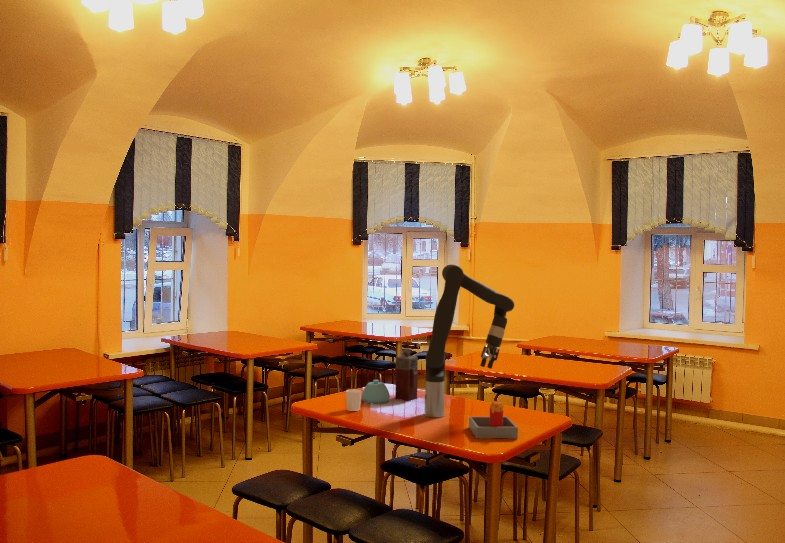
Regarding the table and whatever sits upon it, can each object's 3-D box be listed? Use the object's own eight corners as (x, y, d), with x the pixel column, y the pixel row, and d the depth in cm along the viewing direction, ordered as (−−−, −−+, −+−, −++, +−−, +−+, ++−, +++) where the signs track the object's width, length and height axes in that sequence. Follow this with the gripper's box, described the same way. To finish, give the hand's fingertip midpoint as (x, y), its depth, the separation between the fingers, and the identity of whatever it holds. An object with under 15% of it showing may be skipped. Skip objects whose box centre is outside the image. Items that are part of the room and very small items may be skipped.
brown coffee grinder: (412, 401, 334) (413, 350, 333) (395, 399, 340) (395, 348, 339) (420, 398, 342) (421, 348, 341) (403, 396, 348) (404, 346, 347)
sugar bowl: (373, 396, 345) (373, 376, 345) (395, 400, 336) (395, 379, 336) (356, 401, 333) (356, 380, 333) (378, 406, 324) (378, 384, 324)
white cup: (355, 413, 309) (355, 393, 308) (342, 410, 313) (342, 391, 312) (364, 410, 315) (364, 390, 315) (351, 407, 319) (351, 388, 319)
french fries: (487, 428, 281) (488, 399, 280) (496, 427, 282) (496, 399, 281) (496, 434, 272) (496, 404, 271) (505, 433, 273) (505, 404, 272)
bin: (476, 439, 267) (476, 427, 267) (468, 427, 285) (469, 416, 285) (517, 438, 269) (517, 427, 269) (507, 427, 287) (507, 416, 286)
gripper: (482, 333, 313) (473, 363, 311) (494, 334, 300) (484, 366, 297) (495, 337, 315) (486, 368, 313) (508, 339, 301) (498, 371, 299)
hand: (485, 367), depth 305 cm, fingers open, 8 cm apart
